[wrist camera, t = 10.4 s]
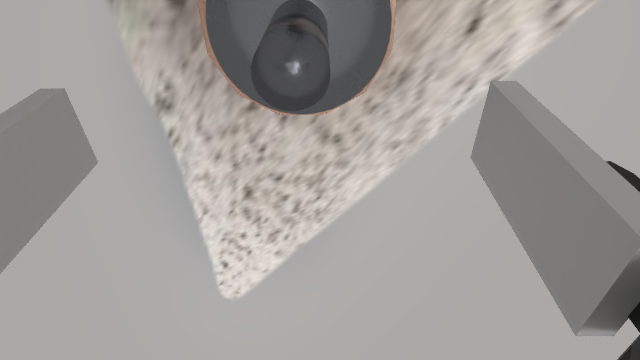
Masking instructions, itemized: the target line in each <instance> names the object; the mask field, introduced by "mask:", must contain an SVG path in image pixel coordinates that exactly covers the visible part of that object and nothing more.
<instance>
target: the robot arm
mask: <svg viewBox="0 0 640 360" xmlns="http://www.w3.org/2000/svg"><path fill="white" fill-rule="evenodd" d="M471 159H472V161H473V163H474V164H475V166H476V168H477V169H478V171H479V173H480V174H481V176H482V178H483V180H484V181H485V183H486V185H487V186H488V188H489V190H490V191H491V193H492V195H493V197H494V198H495V200H496V201H497V203H498V205H499V207H500V208H501V210H502V212H503V214H504V215H505V217H506V219H507V220H508V222H509V224H510V225H511V227H512V229H513V230H514V232H515V234H516V236H517V237H518V239H519V240H520V242H521V244H522V246H523V247H524V249H525V251H526V252H527V254H528V256H529V258H530V259H531V261H532V263H533V264H534V266H535V268H536V270H537V271H538V273H539V275H540V276H541V278H542V280H543V281H544V283H545V285H546V287H547V288H548V290H549V292H550V293H551V295H552V297H553V298H554V300H555V302H556V304H557V305H558V307H559V308H560V310H561V312H562V314H563V315H564V317H565V319H566V320H567V322H568V324H569V326H570V327H571V329H572V331H573V332H574V334H575V336H614V335H615V334H616V332H617V331H618V330H619V329H620V328H621V327H622V325H623V324H624V323H625V321H626V320H627V319H628V318H629V319H630V320H631V321H632V323H633V324H634V326H635V327H636V328H637V329H638V331H639V332H640V179H639V178H638V177H637V176H636V175H634V174H633V173H632V172H630V171H628V170H626V169H624V168H622V167H620V166H618V165H617V164H615V163H612V162H611V161H605V160H603V159H602V158H601V157H600V156H599V155H598V154H597V153H596V152H595V151H593V150H592V149H591V148H590V147H589V146H588V145H587V144H586V143H585V142H584V141H582V140H581V139H580V138H579V137H578V136H577V135H576V134H575V133H573V132H572V131H571V130H570V129H569V128H568V127H567V126H566V125H565V124H563V123H562V122H561V121H560V120H559V119H558V118H557V117H556V116H555V115H554V114H552V113H551V112H550V111H549V110H548V109H547V108H546V107H545V106H544V105H542V104H541V103H540V102H539V101H538V100H537V99H536V98H535V97H533V96H532V95H531V94H530V93H529V92H528V91H527V90H526V89H525V88H524V87H522V86H521V85H520V84H519V83H518V82H517V81H491V83H490V87H489V91H488V94H487V98H486V102H485V105H484V109H483V113H482V117H481V120H480V124H479V128H478V132H477V136H476V139H475V143H474V146H473V150H472V154H471ZM97 163H98V161H97V159H96V157H95V154H94V152H93V150H92V148H91V146H90V144H89V141H88V139H87V137H86V135H85V133H84V131H83V128H82V126H81V124H80V122H79V120H78V117H77V115H76V113H75V111H74V109H73V106H72V104H71V102H70V100H69V98H68V95H67V93H66V91H65V89H39V90H37V91H36V92H34V93H33V94H31V95H30V96H28V97H27V98H25V99H23V100H22V101H20V102H19V103H17V104H16V105H14V106H13V107H11V108H9V109H8V110H6V111H5V112H4V113H2V114H0V273H1V272H2V271H3V270H4V269H5V268H6V266H7V265H8V264H9V263H10V262H11V261H12V260H13V259H14V258H15V256H16V255H17V254H18V253H19V252H20V251H21V250H22V248H23V247H24V246H25V245H26V244H27V243H28V242H29V240H30V239H31V238H32V237H33V236H34V235H35V234H36V232H37V231H38V230H39V229H40V228H41V227H42V226H43V224H44V223H45V222H46V221H47V220H48V219H49V218H50V217H51V215H52V214H53V213H54V212H55V211H56V210H57V208H58V207H59V206H60V205H61V204H62V203H63V202H64V201H65V199H66V198H67V197H68V196H69V195H70V194H71V193H72V192H73V190H74V189H75V188H76V187H77V186H78V185H79V184H80V182H81V181H82V180H83V179H84V178H85V177H86V176H87V174H88V173H89V172H90V171H91V170H92V169H93V168H94V167H95V165H96V164H97ZM618 360H640V335H639V336H638V337H637V339H636V340H635V341H634V342H633V343H632V344H631V345H630V346H629V347H628V348H627V350H626V351H625V352H624V353H623V354H622V355H621V356H620V357H619V359H618Z"/></svg>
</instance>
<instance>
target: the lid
mask: <svg viewBox="0 0 640 360" xmlns="http://www.w3.org/2000/svg"><path fill="white" fill-rule="evenodd" d="M391 23H392V13H391V3H390V0H206V25H207V32H208V37H209V41H210V44H211V47H212V50H213V52H214V55H215V57H216V59H217V61H218V63H219V65H220V67H221V68H222V70H223V71H224V73H225V74H226V76H227V77H228V78H229V79H230V80H231V81H232V83H233V84H234V85H235V86H236V87H237V88H238V89H239V90H240V91H241V92H243V93H244V94H245V95H247V96H248V97H249V98H251V99H252V100H254V101H256V102H257V103H259V104H261V105H263V106H265V107H268V108H270V109H273V110H276V111H279V112H284V113H289V114H314V113H320V112H324V111H327V110H330V109H334V108H336V107H338V106H340V105H342V104H344V103H346V102H347V101H349V100H350V99H352V98H353V97H355V96H356V95H357V94H358V93H360V92H361V91H362V90H363V89H364V88H365V87H366V86H367V85H368V83H369V82H370V81H371V80H372V78H373V77H374V76H375V74H376V72H377V71H378V69H379V67H380V66H381V64H382V61H383V59H384V57H385V54H386V51H387V48H388V44H389V40H390V34H391Z"/></svg>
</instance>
